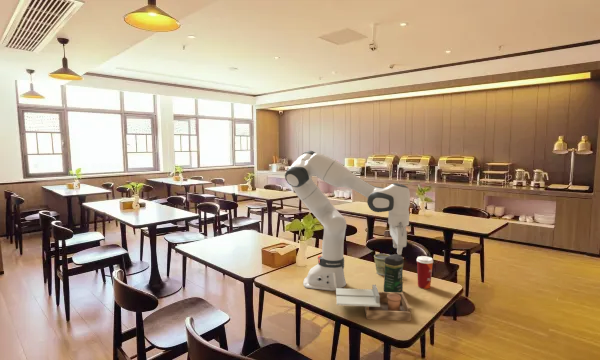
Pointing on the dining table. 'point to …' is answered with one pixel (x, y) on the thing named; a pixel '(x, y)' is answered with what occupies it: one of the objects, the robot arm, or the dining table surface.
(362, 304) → the lid
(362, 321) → the dining table surface
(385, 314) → the wooden box
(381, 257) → the ceramic cup
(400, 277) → the coffee jar
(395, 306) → the terracotta pot
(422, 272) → the coffee cup
